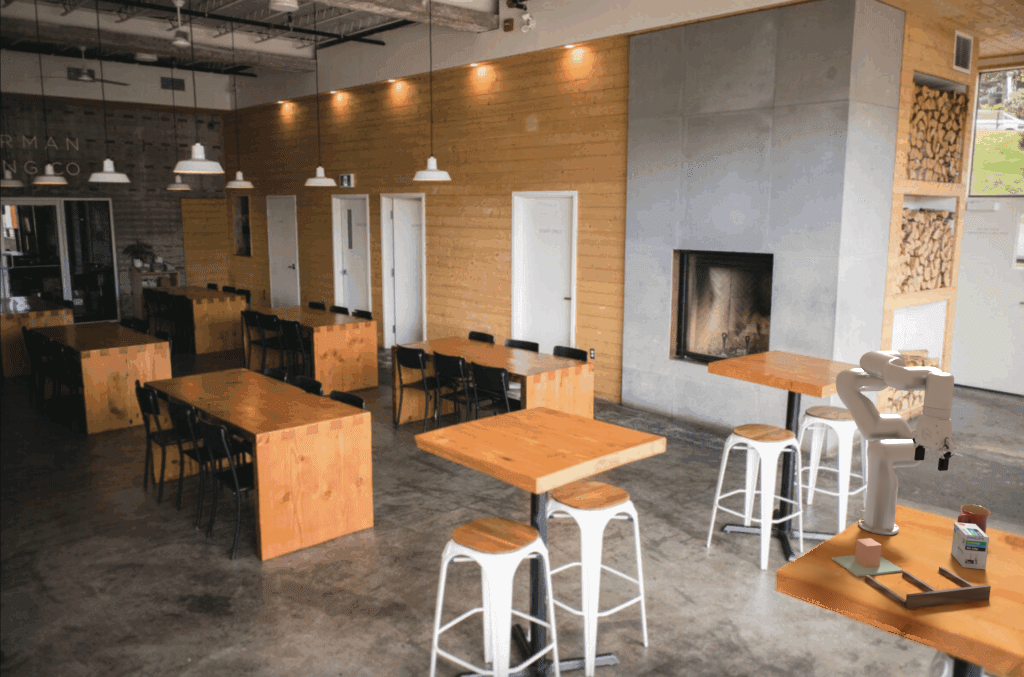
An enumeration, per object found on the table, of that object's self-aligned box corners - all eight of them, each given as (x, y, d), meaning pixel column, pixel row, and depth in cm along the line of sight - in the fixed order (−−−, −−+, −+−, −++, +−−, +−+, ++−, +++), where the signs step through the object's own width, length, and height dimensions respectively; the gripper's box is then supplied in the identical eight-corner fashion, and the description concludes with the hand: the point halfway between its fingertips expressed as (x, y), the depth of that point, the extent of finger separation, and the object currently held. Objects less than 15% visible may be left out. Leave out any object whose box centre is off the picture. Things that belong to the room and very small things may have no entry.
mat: (831, 559, 238) (831, 557, 238) (875, 554, 242) (875, 552, 242) (857, 576, 227) (857, 575, 226) (902, 571, 230) (903, 570, 230)
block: (854, 560, 236) (856, 539, 235) (868, 559, 237) (870, 538, 236) (865, 567, 231) (867, 546, 230) (879, 566, 232) (881, 544, 231)
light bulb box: (986, 570, 232) (990, 537, 230) (962, 568, 233) (966, 535, 232) (972, 555, 243) (976, 523, 241) (949, 553, 244) (953, 521, 242)
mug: (968, 531, 261) (971, 502, 259) (993, 541, 253) (996, 512, 251) (944, 536, 256) (947, 507, 255) (968, 547, 248) (972, 517, 247)
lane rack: (864, 579, 225) (865, 567, 224) (941, 571, 231) (942, 558, 230) (907, 609, 208) (909, 596, 207) (989, 599, 214) (990, 586, 214)
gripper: (905, 405, 241) (900, 457, 243) (948, 420, 224) (941, 475, 227) (925, 404, 242) (920, 455, 245) (969, 418, 226) (962, 473, 229)
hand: (930, 465), depth 236 cm, fingers open, 9 cm apart
